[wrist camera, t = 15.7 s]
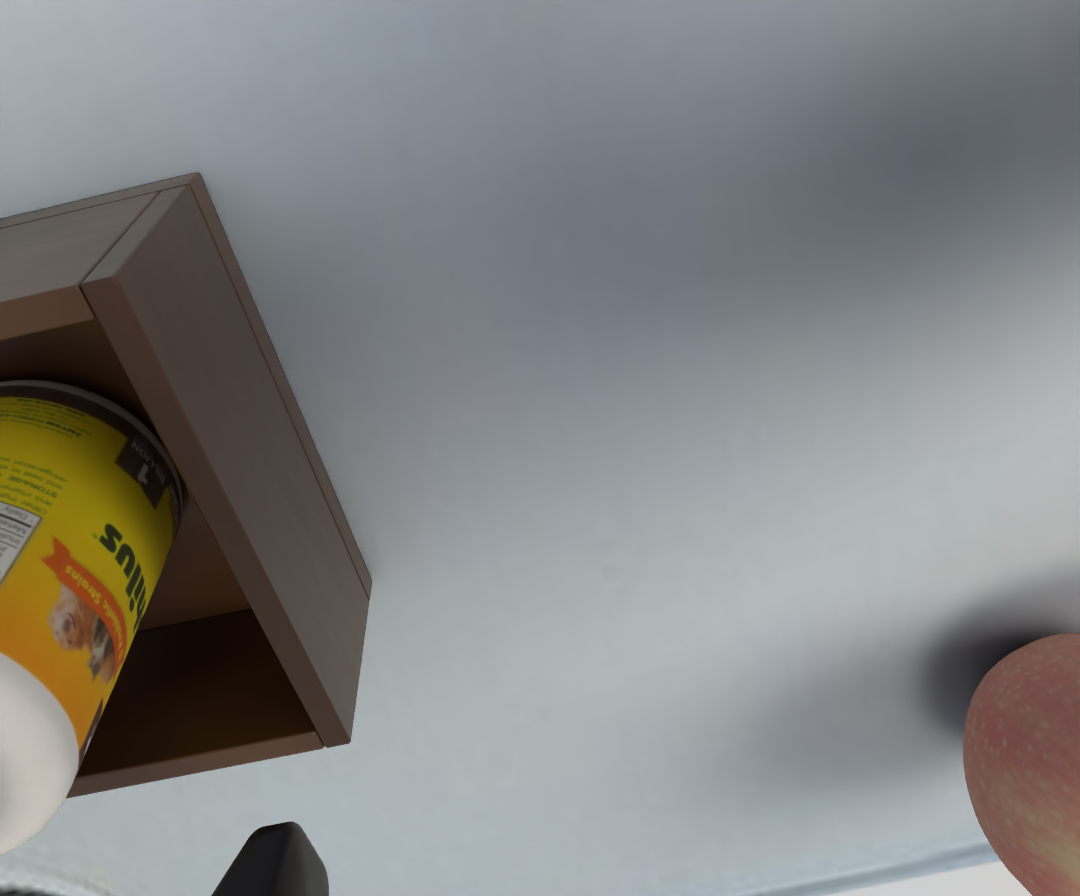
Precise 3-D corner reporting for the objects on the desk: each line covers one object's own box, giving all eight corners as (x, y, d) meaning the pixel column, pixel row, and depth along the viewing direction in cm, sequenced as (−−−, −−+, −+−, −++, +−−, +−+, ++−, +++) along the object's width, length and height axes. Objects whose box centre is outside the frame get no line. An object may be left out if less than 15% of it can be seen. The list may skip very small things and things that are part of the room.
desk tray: (199, 170, 18) (114, 276, 14) (373, 581, 25) (351, 744, 20) (-317, 293, 19) (-553, 431, 15) (-23, 662, 25) (-127, 837, 21)
